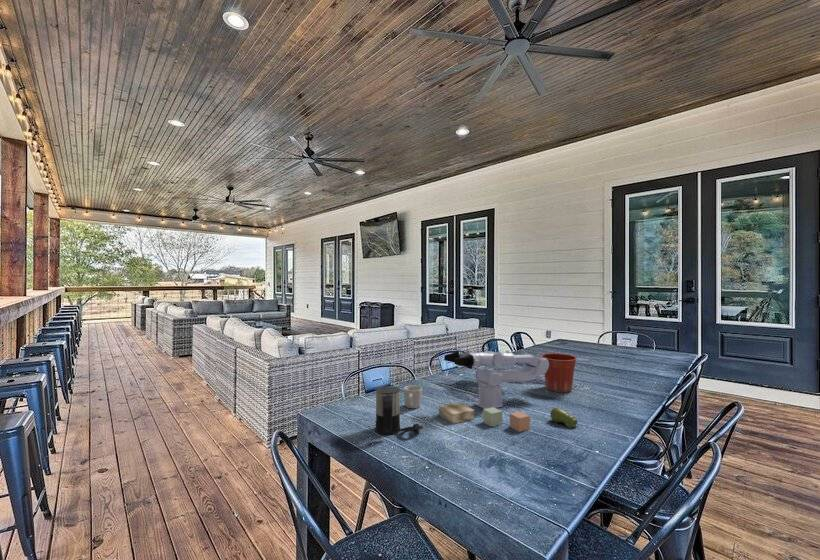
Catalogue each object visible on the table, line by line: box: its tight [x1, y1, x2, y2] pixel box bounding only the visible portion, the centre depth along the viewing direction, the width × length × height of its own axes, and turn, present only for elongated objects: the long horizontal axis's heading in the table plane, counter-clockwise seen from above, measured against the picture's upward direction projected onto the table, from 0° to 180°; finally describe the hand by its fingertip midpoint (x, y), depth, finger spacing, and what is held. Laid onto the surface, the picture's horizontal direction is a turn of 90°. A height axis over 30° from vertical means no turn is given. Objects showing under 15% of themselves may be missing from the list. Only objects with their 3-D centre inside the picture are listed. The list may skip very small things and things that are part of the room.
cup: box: [403, 384, 423, 409], centre depth 157 cm, size 11×8×8 cm
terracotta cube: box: [509, 411, 531, 433], centre depth 136 cm, size 5×5×5 cm
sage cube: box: [482, 407, 503, 427], centre depth 141 cm, size 5×5×5 cm
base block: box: [438, 402, 476, 425], centre depth 147 cm, size 10×10×4 cm
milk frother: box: [374, 385, 424, 435], centre depth 133 cm, size 14×16×15 cm
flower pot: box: [540, 352, 578, 393], centre depth 184 cm, size 16×16×16 cm
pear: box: [549, 407, 578, 428], centre depth 141 cm, size 6×5×10 cm
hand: (449, 359), depth 151 cm, fingers open, 7 cm apart
